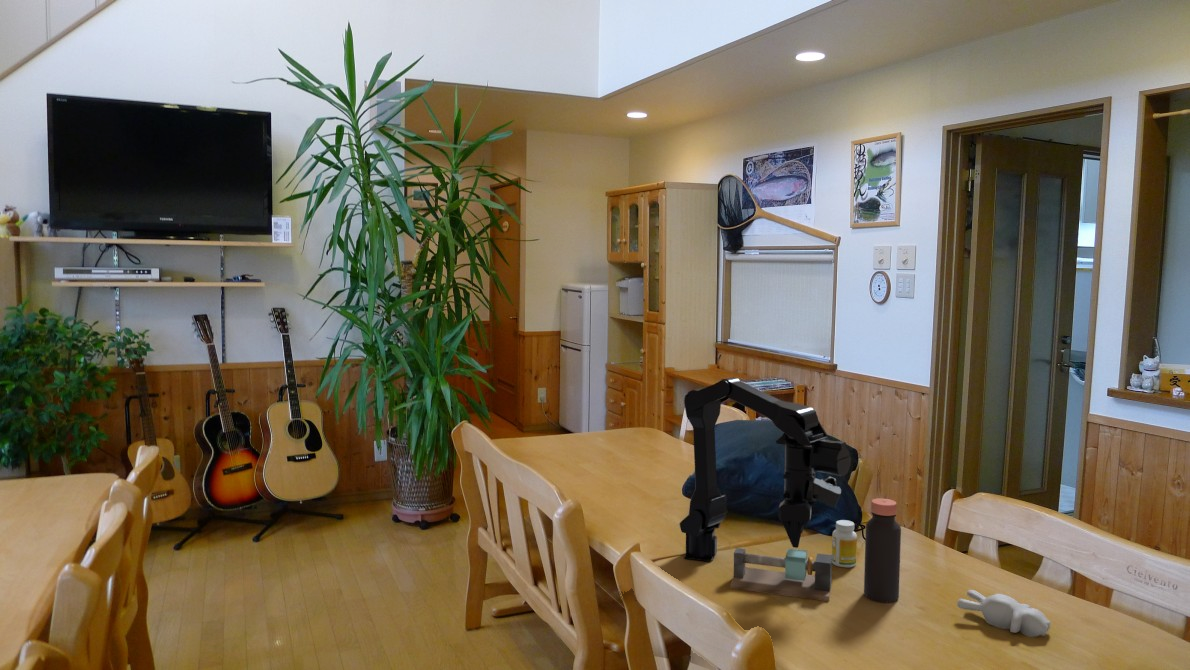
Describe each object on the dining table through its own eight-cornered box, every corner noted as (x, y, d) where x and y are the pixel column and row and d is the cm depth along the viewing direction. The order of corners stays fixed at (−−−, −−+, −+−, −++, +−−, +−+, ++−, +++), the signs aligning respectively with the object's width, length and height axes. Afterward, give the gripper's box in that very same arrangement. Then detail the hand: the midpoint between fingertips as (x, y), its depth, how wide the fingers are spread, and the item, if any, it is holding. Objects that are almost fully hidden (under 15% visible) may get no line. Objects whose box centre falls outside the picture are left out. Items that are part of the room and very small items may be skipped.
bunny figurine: (1043, 625, 143) (956, 592, 152) (1038, 651, 144) (952, 617, 153) (1056, 608, 150) (972, 578, 159) (1051, 633, 151) (968, 601, 160)
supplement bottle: (826, 563, 182) (827, 522, 182) (840, 557, 186) (841, 517, 185) (847, 570, 178) (848, 528, 177) (860, 564, 182) (862, 523, 181)
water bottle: (899, 592, 166) (903, 499, 164) (897, 605, 160) (900, 508, 158) (865, 587, 169) (868, 495, 167) (861, 599, 163) (864, 504, 161)
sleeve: (785, 578, 167) (785, 556, 167) (787, 569, 172) (788, 548, 171) (804, 580, 166) (805, 558, 166) (806, 572, 170) (807, 550, 170)
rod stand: (730, 588, 169) (731, 556, 168) (738, 570, 178) (738, 540, 178) (828, 601, 162) (829, 568, 161) (831, 582, 171) (832, 550, 171)
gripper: (836, 482, 155) (835, 560, 157) (841, 459, 173) (839, 529, 174) (778, 477, 159) (777, 553, 160) (788, 455, 176) (787, 524, 178)
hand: (797, 539), depth 168 cm, fingers open, 9 cm apart
